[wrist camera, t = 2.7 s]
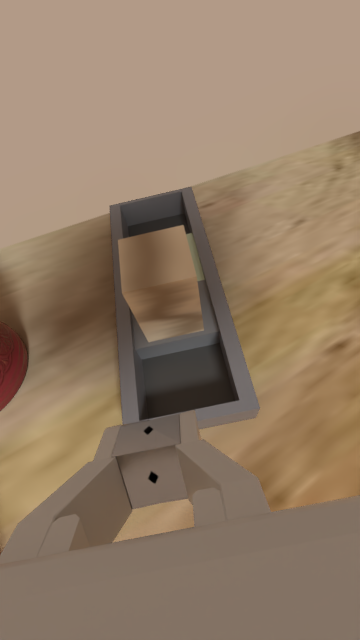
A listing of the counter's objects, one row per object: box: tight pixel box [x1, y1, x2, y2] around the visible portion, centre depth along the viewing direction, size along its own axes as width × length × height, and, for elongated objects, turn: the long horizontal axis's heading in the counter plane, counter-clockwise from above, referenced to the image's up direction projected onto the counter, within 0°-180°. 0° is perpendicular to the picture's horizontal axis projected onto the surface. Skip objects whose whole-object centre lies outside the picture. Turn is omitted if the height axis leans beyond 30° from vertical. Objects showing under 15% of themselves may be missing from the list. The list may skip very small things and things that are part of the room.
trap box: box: [110, 187, 260, 429], centre depth 34 cm, size 12×32×4 cm, turn 10°
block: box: [118, 225, 204, 342], centre depth 28 cm, size 6×6×9 cm
